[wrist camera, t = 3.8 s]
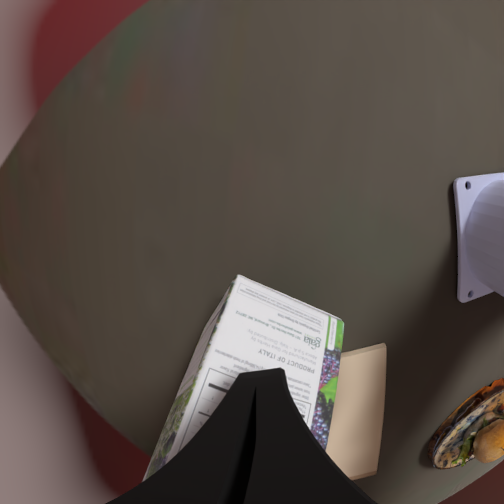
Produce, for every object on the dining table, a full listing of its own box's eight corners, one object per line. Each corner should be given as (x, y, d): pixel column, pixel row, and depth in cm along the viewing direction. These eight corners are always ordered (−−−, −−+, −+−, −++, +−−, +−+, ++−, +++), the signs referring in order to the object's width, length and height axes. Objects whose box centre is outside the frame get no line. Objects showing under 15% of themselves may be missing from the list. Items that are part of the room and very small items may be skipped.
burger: (413, 470, 21) (431, 520, 14) (445, 396, 18) (483, 456, 11) (494, 437, 20) (517, 475, 12) (530, 361, 17) (569, 399, 10)
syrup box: (290, 357, 17) (231, 573, 7) (202, 321, 17) (117, 546, 7) (346, 317, 13) (280, 615, 3) (232, 266, 13) (113, 593, 3)
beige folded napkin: (384, 342, 17) (386, 346, 16) (375, 470, 20) (376, 474, 20) (188, 375, 18) (186, 380, 18) (243, 489, 22) (243, 493, 21)
